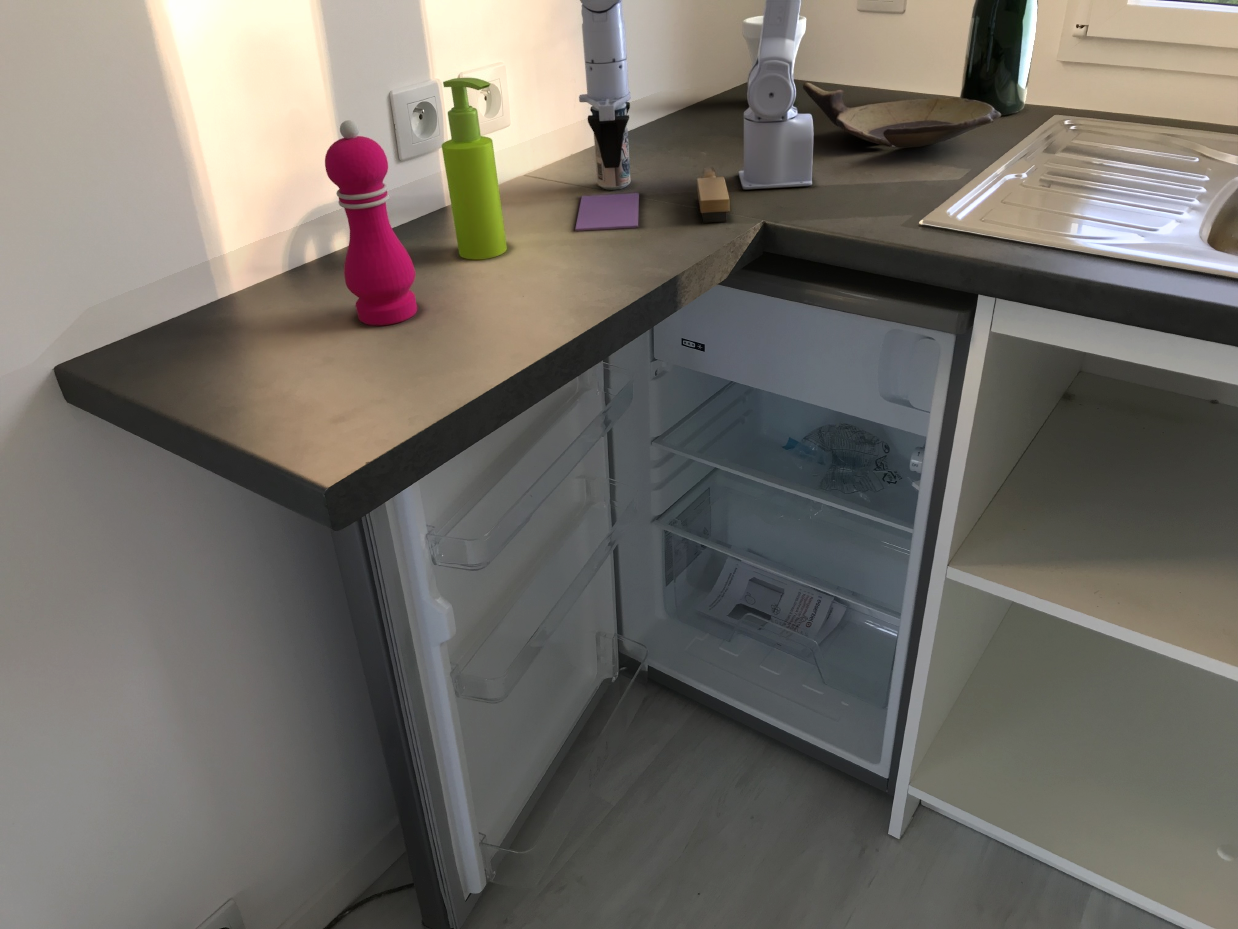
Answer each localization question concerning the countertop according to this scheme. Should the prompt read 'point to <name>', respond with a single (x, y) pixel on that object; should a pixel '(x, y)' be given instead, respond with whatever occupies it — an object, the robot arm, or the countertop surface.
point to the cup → (753, 35)
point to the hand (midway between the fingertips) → (612, 162)
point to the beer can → (620, 175)
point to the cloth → (608, 212)
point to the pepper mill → (370, 231)
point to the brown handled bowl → (904, 118)
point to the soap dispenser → (472, 178)
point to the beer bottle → (1000, 53)
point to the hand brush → (712, 196)
